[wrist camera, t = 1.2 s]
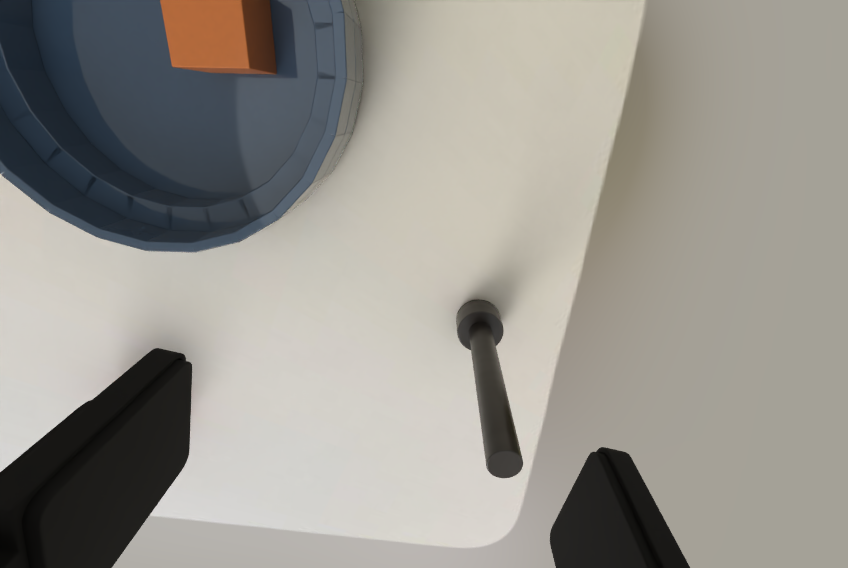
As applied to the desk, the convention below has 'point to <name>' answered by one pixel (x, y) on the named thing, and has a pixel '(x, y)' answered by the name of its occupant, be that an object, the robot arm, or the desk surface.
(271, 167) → the bowl
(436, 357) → the desk surface
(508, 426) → the dark grey bolt
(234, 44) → the block
